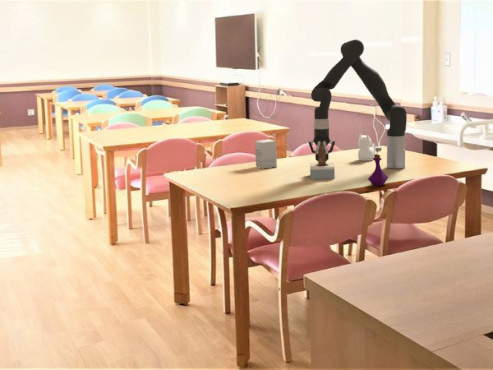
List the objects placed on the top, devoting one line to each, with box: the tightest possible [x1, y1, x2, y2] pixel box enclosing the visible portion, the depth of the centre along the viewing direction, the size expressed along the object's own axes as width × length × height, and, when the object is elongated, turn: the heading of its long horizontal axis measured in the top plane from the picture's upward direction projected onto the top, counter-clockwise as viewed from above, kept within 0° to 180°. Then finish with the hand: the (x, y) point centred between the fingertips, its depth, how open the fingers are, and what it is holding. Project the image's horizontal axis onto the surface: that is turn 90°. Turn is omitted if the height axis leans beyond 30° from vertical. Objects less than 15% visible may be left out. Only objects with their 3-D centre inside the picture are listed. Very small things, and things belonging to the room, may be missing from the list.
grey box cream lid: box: [309, 162, 336, 180], centre depth 366 cm, size 12×12×6 cm
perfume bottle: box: [367, 147, 389, 187], centre depth 341 cm, size 8×8×18 cm
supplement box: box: [254, 138, 278, 169], centre depth 397 cm, size 9×9×15 cm
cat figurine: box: [357, 133, 377, 162], centre depth 408 cm, size 9×12×15 cm
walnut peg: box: [317, 142, 327, 166], centre depth 365 cm, size 4×4×16 cm
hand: (321, 160), depth 365 cm, fingers closed on walnut peg, 4 cm apart
